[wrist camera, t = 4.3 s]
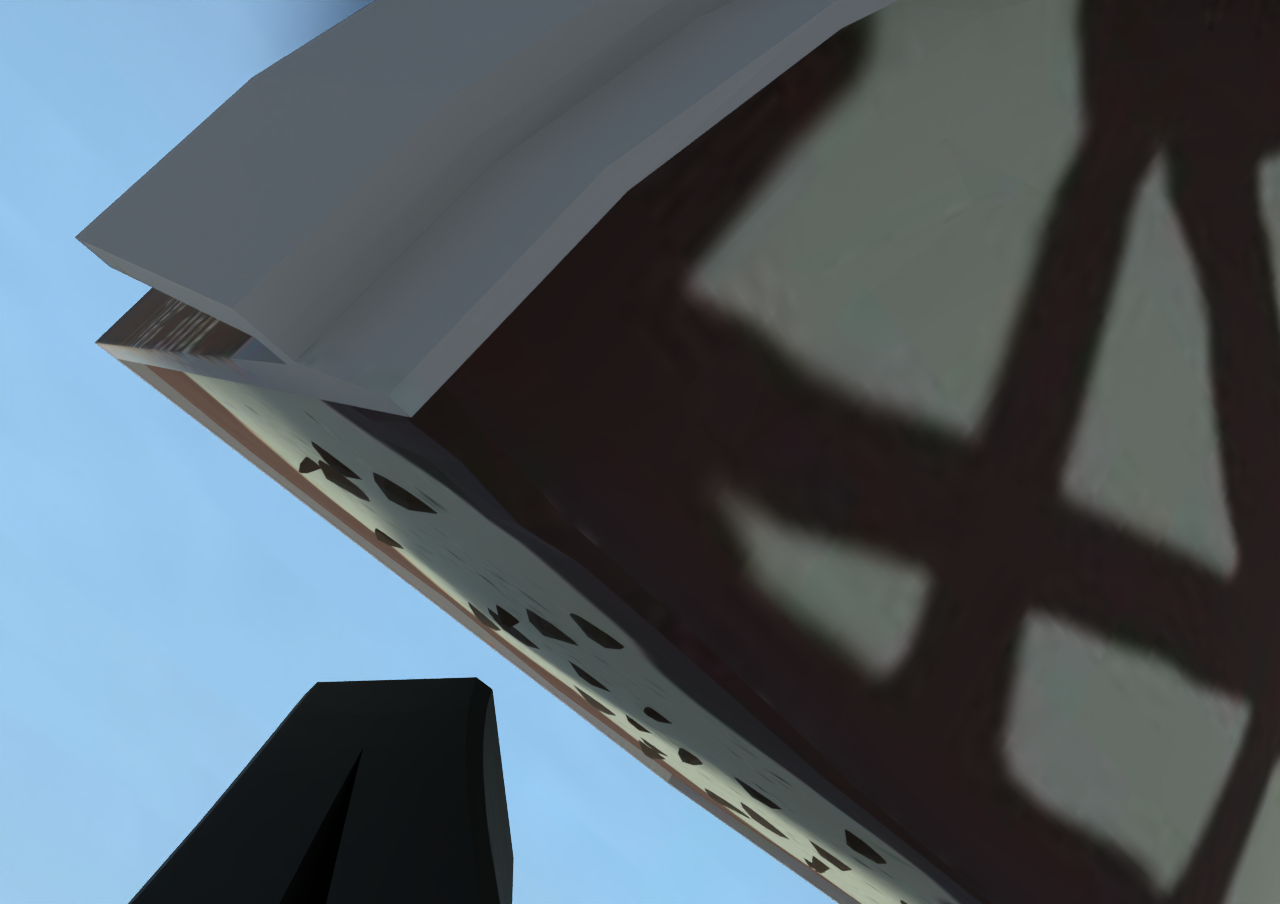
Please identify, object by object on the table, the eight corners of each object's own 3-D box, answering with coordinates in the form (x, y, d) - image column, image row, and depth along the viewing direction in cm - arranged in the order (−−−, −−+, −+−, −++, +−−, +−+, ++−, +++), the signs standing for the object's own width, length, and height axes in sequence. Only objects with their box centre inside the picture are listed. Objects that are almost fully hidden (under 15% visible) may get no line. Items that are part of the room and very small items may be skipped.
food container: (950, 495, 18) (1824, 709, 10) (729, 831, 17) (1535, 1398, 9) (379, -201, 12) (1441, -1131, 4) (-45, 237, 11) (203, 238, 2)
